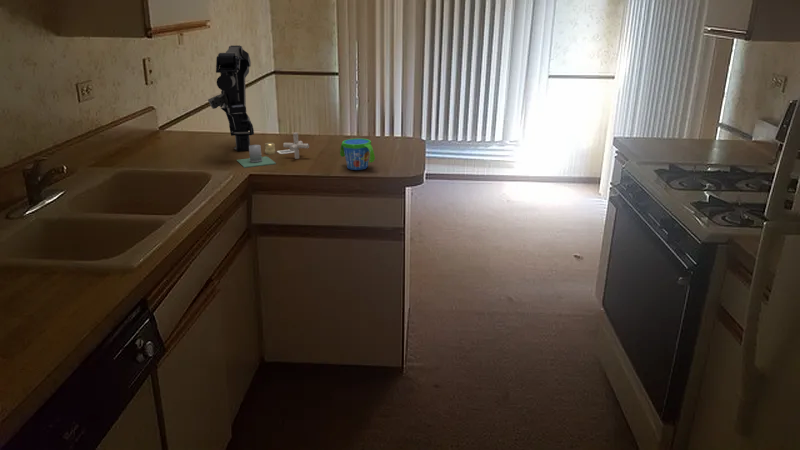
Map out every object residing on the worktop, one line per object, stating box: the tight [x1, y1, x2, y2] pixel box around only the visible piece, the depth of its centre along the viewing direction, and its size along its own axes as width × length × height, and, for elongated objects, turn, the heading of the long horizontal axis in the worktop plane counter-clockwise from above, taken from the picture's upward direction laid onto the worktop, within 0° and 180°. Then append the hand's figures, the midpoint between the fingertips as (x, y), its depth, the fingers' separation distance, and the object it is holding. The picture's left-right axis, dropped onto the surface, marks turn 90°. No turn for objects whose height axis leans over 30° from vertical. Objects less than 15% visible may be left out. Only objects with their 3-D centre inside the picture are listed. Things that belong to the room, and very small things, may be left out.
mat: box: [236, 156, 277, 169], centre depth 238 cm, size 12×12×1 cm
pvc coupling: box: [248, 144, 263, 163], centre depth 237 cm, size 5×5×6 cm
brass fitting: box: [264, 142, 276, 156], centre depth 251 cm, size 4×4×4 cm
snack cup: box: [339, 137, 376, 171], centre depth 228 cm, size 16×10×10 cm
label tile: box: [276, 149, 294, 155], centre depth 254 cm, size 5×8×1 cm, turn 117°
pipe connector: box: [283, 132, 310, 160], centre depth 242 cm, size 10×10×10 cm
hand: (234, 128), depth 240 cm, fingers open, 9 cm apart
